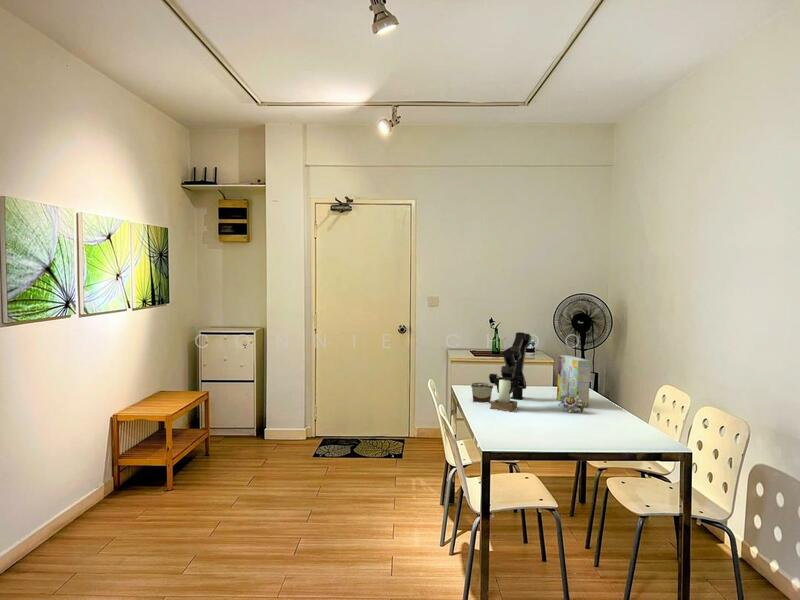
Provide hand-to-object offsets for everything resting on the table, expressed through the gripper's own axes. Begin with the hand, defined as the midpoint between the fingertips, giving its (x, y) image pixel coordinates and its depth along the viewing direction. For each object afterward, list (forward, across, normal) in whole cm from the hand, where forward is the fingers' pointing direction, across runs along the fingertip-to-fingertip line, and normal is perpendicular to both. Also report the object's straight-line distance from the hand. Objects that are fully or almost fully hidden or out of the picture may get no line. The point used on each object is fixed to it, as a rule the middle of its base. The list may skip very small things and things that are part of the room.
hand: (503, 393), depth 302 cm
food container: (-3, -16, +15) cm, 22 cm away
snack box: (-20, +30, +32) cm, 48 cm away
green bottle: (+4, 0, +6) cm, 7 cm away
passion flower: (-4, +32, +17) cm, 37 cm away
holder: (+5, 0, +7) cm, 9 cm away
